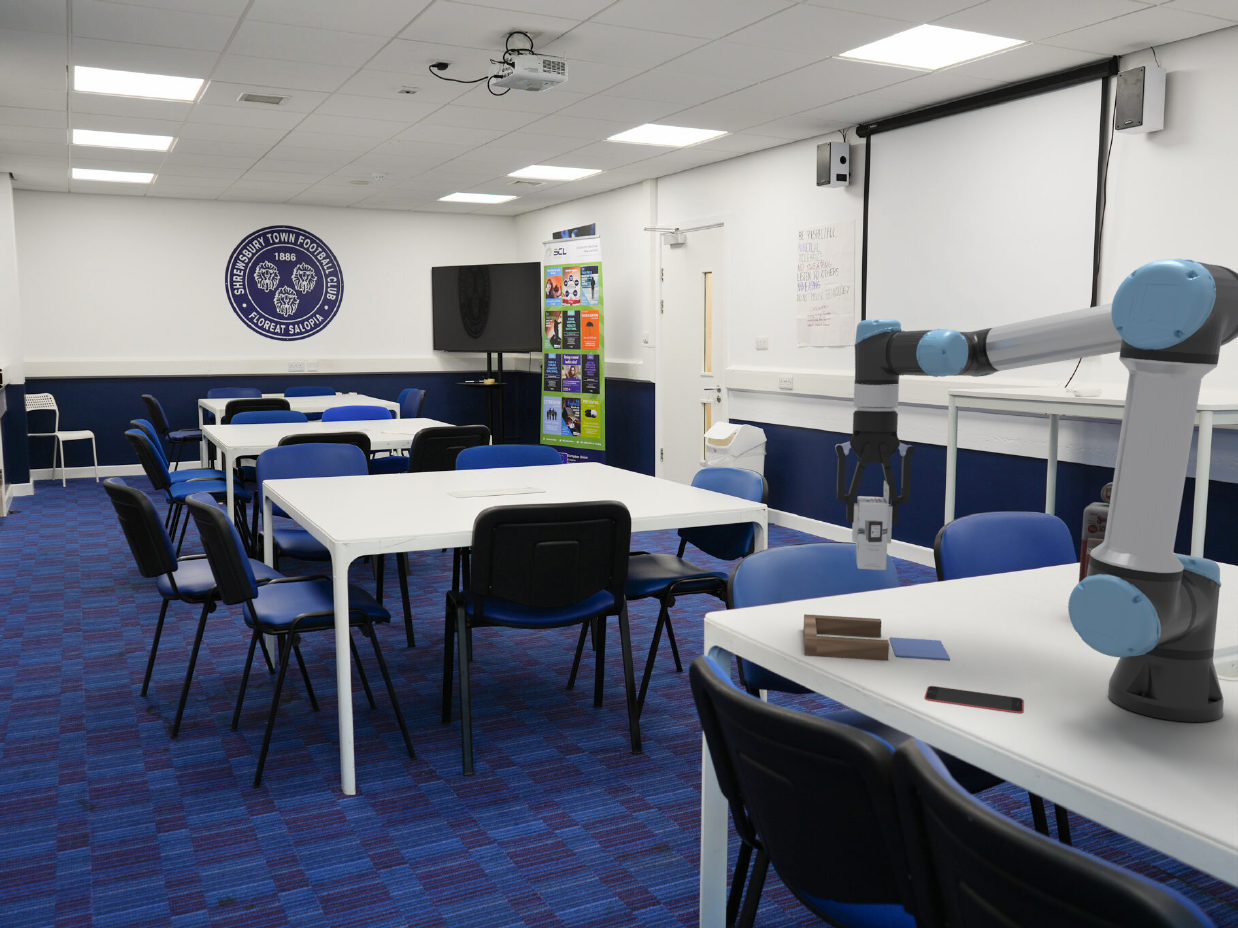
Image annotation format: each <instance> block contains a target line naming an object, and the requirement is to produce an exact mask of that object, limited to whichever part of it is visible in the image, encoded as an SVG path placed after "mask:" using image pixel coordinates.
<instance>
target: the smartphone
mask: <svg viewBox="0 0 1238 928" xmlns="http://www.w3.org/2000/svg"><path fill="white" fill-rule="evenodd" d="M924 700H926V701H928V702H934V703H941V704H948V705H956V706H963V707H969V708H977V709H984V710H990V711H996V712H1004V713H1011V714H1018V715H1019V714H1020V715H1022V714H1024V711H1025V702H1024V701H1025V700H1024V699H1023V698H1021V697H1015V696H1008V695H1001V694H996V693H995V694H993V693H986V692H980V691H971V690H965V689H956V688H951V687H945V686H944V687H942V686H935V685H929V686H927V687H926V690H925V695H924Z"/></svg>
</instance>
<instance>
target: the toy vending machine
mask: <svg viewBox="0 0 1238 928" xmlns="http://www.w3.org/2000/svg"><path fill="white" fill-rule="evenodd" d="M1112 486H1113V481H1112V482H1108V483H1107V484H1106V485H1104V486H1103V487H1102V488H1101V491H1100V498H1101V500H1102V501H1103V502H1096V501H1094V502H1092V503H1090V504H1089V505H1087V506H1086V507H1085V508H1084V509H1083V515H1082V516H1083V517H1082V529H1081V530H1082V531H1081V546H1080V547H1081V548H1080V559H1079V560H1080V561H1079V575H1078V576H1079V577H1078V583H1079V582H1081V581H1082V580H1083V579H1084V578H1086V577H1087V571H1088V564H1089V558H1090V553H1091V550H1092V549H1094V548H1096V547H1097V546H1099V545H1100V544H1102V543H1103V542H1104V538H1105V532H1106V525H1107V519H1108V512H1109V505H1110V499H1111V492H1112Z"/></svg>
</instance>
